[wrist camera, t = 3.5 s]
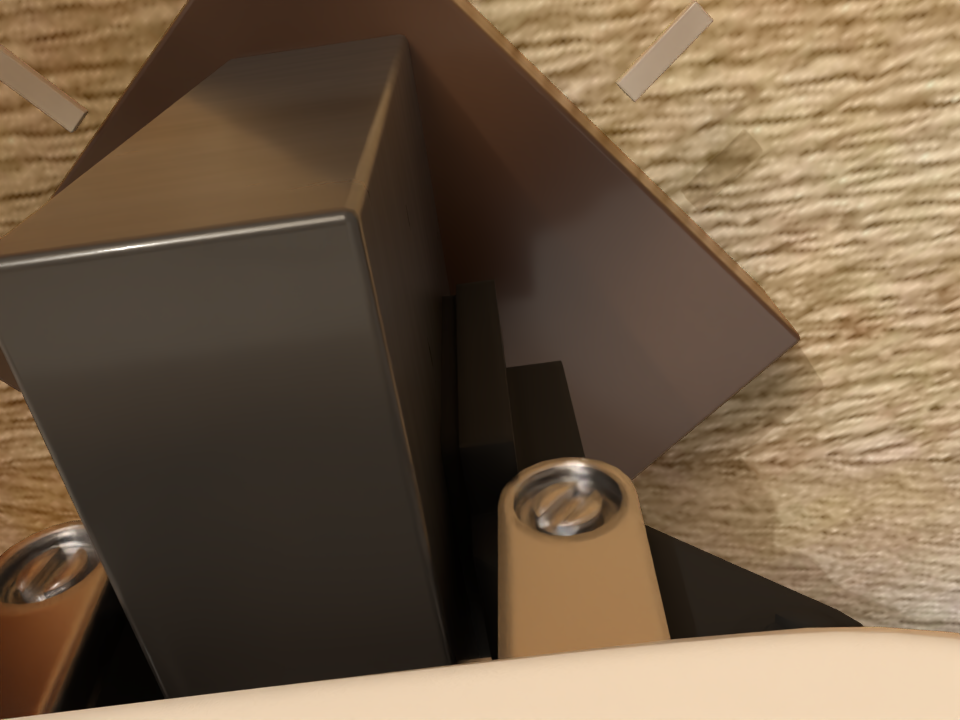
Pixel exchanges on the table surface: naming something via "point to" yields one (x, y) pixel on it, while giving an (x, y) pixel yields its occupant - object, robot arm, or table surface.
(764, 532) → the table surface
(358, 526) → the dark grey flat block
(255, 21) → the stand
